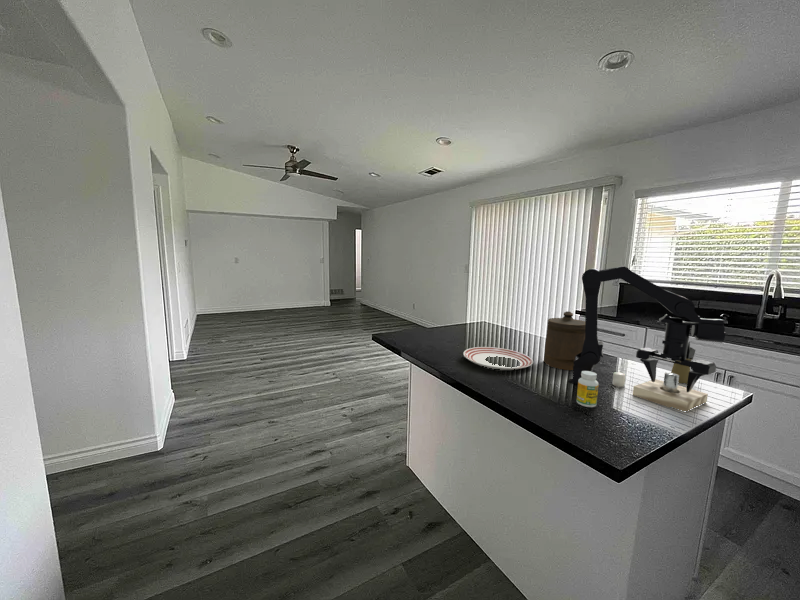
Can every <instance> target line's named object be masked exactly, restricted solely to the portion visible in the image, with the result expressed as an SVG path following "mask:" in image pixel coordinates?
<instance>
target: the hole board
mask: <svg viewBox="0 0 800 600" xmlns="http://www.w3.org/2000/svg"><path fill="white" fill-rule="evenodd" d="M663 383H664V380H660V379H658V378H656V379H655V382H652V381H651V380H649V381H648V380H647V381H645V382H642V383H639V384H635V385H633V388H632V396H634V397H638V398H640V399H643V400H646V401H648V402H649V401H650V402H653V403H655V404H659V405H661V406H664V407H667V408H670V407H673V408H676V409H679V410H682V411H688V410H690V409H692V408H694V407H696V406H699V405H701V404H703V403H706V402H707V401H708V396H709V393H706V392H704V391H703V392H702V391H699V390H696V389H693V388H692V389H691V391H690V392H687V386H686V387H685V386H682V385H678V388H677V393H670V392H667V391H663ZM706 404H707V403H706ZM699 407H700V406H699ZM673 408H672V409H673ZM676 409H675V410H676ZM679 410H678V411H679ZM682 411H681V412H682Z"/></svg>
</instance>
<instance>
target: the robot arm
mask: <svg viewBox="0 0 800 600" xmlns="http://www.w3.org/2000/svg"><path fill="white" fill-rule="evenodd" d="M619 279H620V280H622V281H624V282H626V283H627V284H629V285H631V286H632V287H634V288H636V289H637V290H639V291H640V292H643V293H644V294H646V295H648V296H649V297H652V298H653V299H655V300H656V301H657V302H658V303H660V305H662V306H663V307H664V308H665V309H666V310H668V311H669V312H670V313H671V314H673V317H672V316H669V314H667V313H666V314H664V316H662V317H660V318H659V319H658V320H659V322H660V323H665V324H666V325H665V332H664V339H662V342H661V343H662V345H663V346H662V347H663V348H662V352H661V353H660V352H659V351H658V349H654V348H650V347H643V348H638V349H637V351H636V354H635V358H638V359H639V361H640V362H642V363H643V365H644V367H645V369H646V371H647V373H648V375H649V378H650V381H652V382H655V379H657V365H658V362H659V361H665V362H668V363H671V364H674V363H676V364H680V365H684V366H688V367H690V372H689V375H688V381H687V384H686V388H687V392H690V391H691V389H693V387H694V386H695V384H696V383H697V381H698V380H699V379H700V378H701V377H704V376H707V375H711V374H714V373H716V370H717V365H716V363H715V362H712V361H710V360H709V361H708V360H704V359H700V358H699V359H697V360H694V357H695V353H696V349H694V348H693V347H691V342H690V341H689V339H690V333H691V337H695V338H694V339H695V340H696V341H700V342H701V341H702V342H709V343H710V342H711V343H719V344H722V343H723V342H724V341H725V339H726V338H725V337H726V331H725V330H726V329H725V327H726V326H725V325H724V324H725V320H724V319H721V318H705V317H704V318H703V317H701V316H700V315H698V313H697V312H696V311H695V309H696V307H695V303H694V302H693V301H692V300H691V299H689V298H686V297H685V296H682V295H680V294H677V293H674V292H671V291H669V290H666V289H663V288H662V287H661V286H658V285H656V284H654V283H653V282H651V281H649V280H648V279H646V278H644V277H642V276H641V275H639V274H637V273H635V272H634V271H633V270H630V268H628V267H627V266H624V265H621V266H620V265H619V266H618V267H613V268H612V267H611V268H607V269H600V270H598V268H588V269H587V270H585V271H584V272H583V273H582V277H581V281H582V286H583V290H584V296H585V311H584V312H585V317H584V318H585V320H584V321H585V340H584V344H583V349H582V352H581V353H579V354H577V355H576V356H575V359H574V362H573V363H574V366H573V371H572V376H571V377H572V378H569V379H567V382H569V383H572V384H574V385H576V386H578V380H579V379H580V378H582V377H581V372H582V371H591V372H594V371H593V370H594V369H593V368H594V366H595V365H597V364H599V362H600V361H601V358H604V351H603V347H604V341H599V339H598V314H599V313H598V311H599V310H598V309H599V307H598V306H599V303H598V302H599V293H600V288H601V286H602V285H601V284H602V282H611V281H613V280H619ZM674 316H675V317H674ZM682 318H686V319H687V320H689V321H685V320H683V319H682ZM686 359H692V360H691V361H690V360H686ZM676 360H677V361H676ZM679 361H681V362H679Z"/></svg>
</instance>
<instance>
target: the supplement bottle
mask: <svg viewBox="0 0 800 600" xmlns="http://www.w3.org/2000/svg"><path fill="white" fill-rule="evenodd" d="M597 376H598V374H597V373H596V372H594V371H593V372H591V371H582V372H581V377H582V378H580V379H579V380H578V385H577V390H576V391H577V392H576V403H577V404H578V405H579V406H580V405H581V406H582V407H586V408H596V407H597V403H598V396H599V395H598V394H599V381H598V380H597V378H598V377H597Z"/></svg>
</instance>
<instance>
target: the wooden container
mask: <svg viewBox="0 0 800 600" xmlns="http://www.w3.org/2000/svg"><path fill="white" fill-rule="evenodd" d="M573 317H574V314H573V312H571V311H565V312H563V317H552V318H547V319H548V320H547V328H546V337H545V344H544V356H543V357H544V358H543V363H544V362H545V363H546V364H547V365H546V364H545V363H544V364H545V365H546V366H548V365H549V366H548V367H550V368H553V367H554V369H557V368H558V370H562V369H563V370H564V371H571V370H573V366H574V363H573V362H574V359H575V356H576V355H577V354H579V353H581V352H582V349H583V344H584V340H585V320H580V319H575V318H573Z"/></svg>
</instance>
